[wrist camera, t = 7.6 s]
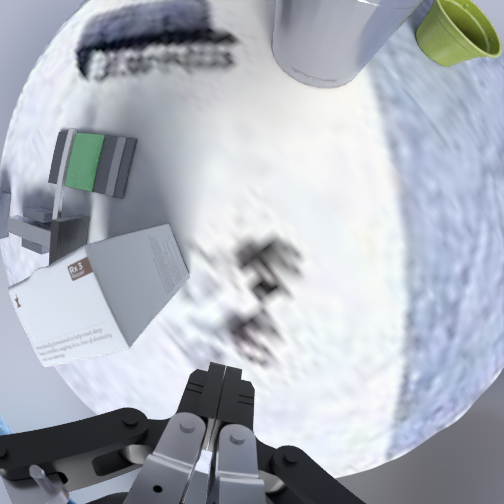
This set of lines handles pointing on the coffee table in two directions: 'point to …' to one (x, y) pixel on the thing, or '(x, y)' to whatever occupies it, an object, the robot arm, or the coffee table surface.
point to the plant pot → (457, 33)
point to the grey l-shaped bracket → (55, 218)
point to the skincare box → (99, 295)
